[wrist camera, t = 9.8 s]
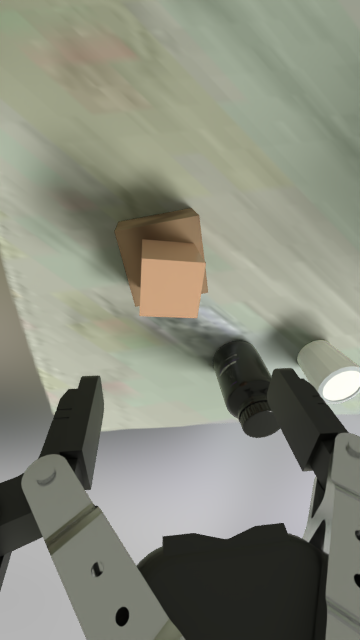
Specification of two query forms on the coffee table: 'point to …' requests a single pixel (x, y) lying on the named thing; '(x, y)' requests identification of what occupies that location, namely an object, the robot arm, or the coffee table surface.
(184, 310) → the tan block
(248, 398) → the supplement bottle
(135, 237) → the walnut box
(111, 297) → the coffee table surface
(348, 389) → the white cylinder
